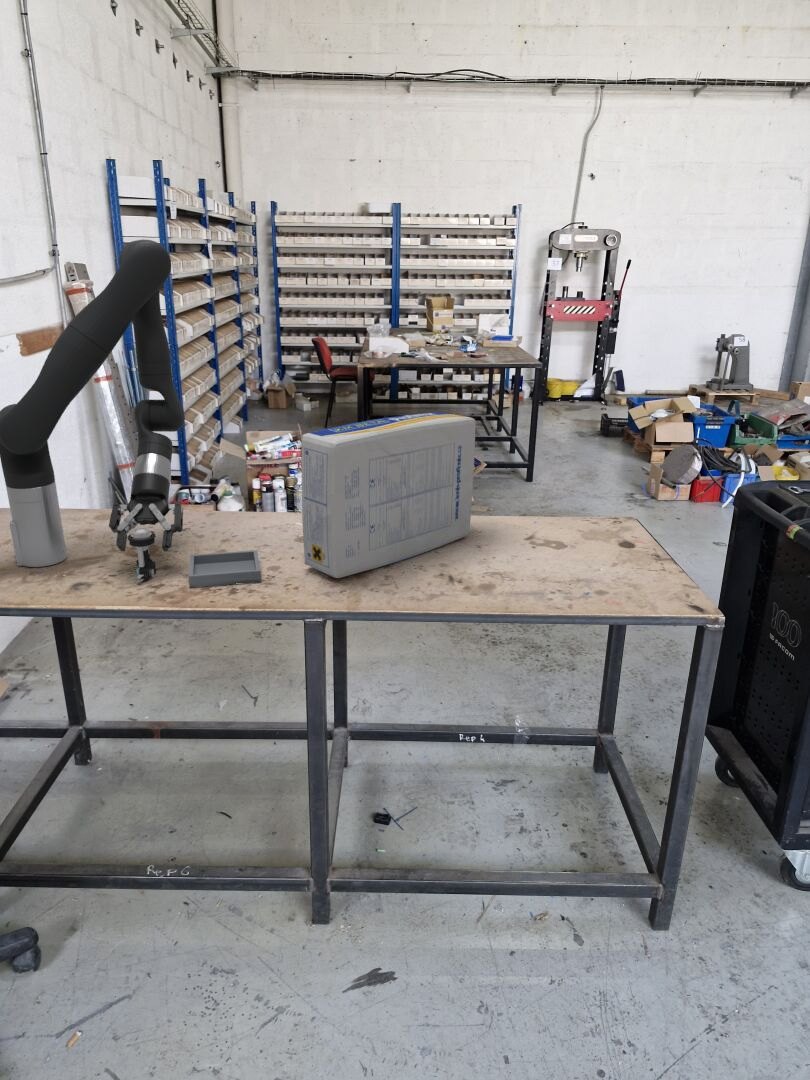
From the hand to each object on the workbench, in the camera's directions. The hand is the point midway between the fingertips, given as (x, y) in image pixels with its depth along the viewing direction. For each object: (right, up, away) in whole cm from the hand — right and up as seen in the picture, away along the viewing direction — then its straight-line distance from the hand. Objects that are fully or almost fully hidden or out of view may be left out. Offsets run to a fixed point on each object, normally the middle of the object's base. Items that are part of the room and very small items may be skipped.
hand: (143, 549), depth 144 cm
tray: (+16, -5, +4) cm, 17 cm away
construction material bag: (+50, -1, +18) cm, 53 cm away
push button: (0, -6, +1) cm, 6 cm away
